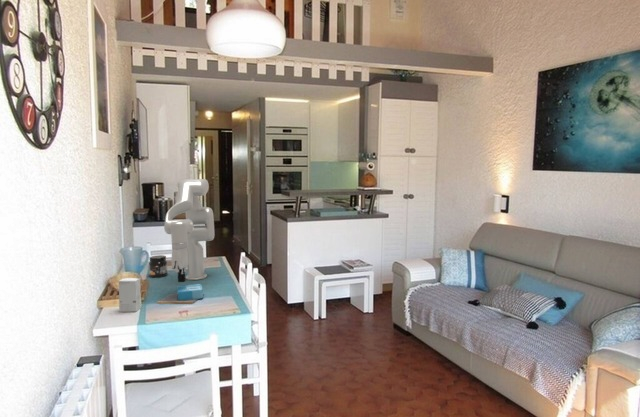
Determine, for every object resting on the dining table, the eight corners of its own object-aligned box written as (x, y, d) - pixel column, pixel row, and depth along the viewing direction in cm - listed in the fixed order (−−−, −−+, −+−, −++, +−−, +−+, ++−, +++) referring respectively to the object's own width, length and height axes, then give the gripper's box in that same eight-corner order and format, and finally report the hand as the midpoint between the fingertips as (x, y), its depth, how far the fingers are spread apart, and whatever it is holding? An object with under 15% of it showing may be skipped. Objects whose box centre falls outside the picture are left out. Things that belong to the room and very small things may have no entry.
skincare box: (119, 312, 209) (117, 280, 207) (125, 308, 215) (122, 277, 213) (137, 311, 209) (135, 280, 207) (142, 307, 215) (140, 277, 213)
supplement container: (147, 276, 279) (145, 257, 278) (163, 273, 286) (162, 254, 285) (153, 278, 271) (152, 259, 270) (170, 275, 278) (169, 256, 277)
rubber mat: (171, 294, 235) (171, 293, 235) (204, 295, 233) (203, 294, 233) (158, 302, 222) (158, 301, 222) (193, 303, 219) (193, 302, 219)
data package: (201, 283, 236) (202, 289, 225) (201, 292, 237) (203, 298, 226) (177, 286, 233) (177, 292, 221) (177, 294, 233) (178, 301, 222)
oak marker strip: (158, 302, 222) (158, 301, 221) (193, 303, 219) (193, 301, 219) (157, 303, 220) (156, 301, 220) (192, 304, 218) (192, 302, 218)
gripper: (179, 243, 234) (181, 277, 236) (165, 248, 219) (168, 285, 221) (192, 243, 233) (194, 278, 235) (180, 248, 218) (182, 285, 220)
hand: (181, 281), depth 228 cm, fingers closed
